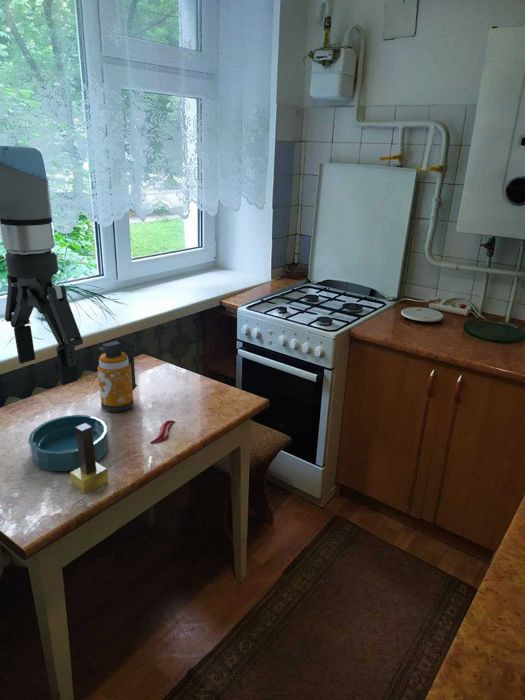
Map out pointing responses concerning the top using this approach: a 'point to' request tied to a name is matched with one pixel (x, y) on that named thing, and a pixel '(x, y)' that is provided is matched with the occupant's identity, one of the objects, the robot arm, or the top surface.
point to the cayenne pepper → (163, 431)
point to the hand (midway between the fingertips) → (47, 371)
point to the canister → (116, 375)
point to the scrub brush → (87, 463)
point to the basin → (65, 442)
